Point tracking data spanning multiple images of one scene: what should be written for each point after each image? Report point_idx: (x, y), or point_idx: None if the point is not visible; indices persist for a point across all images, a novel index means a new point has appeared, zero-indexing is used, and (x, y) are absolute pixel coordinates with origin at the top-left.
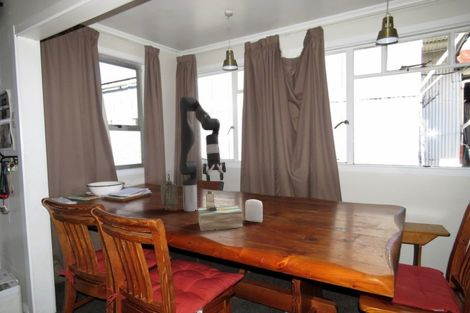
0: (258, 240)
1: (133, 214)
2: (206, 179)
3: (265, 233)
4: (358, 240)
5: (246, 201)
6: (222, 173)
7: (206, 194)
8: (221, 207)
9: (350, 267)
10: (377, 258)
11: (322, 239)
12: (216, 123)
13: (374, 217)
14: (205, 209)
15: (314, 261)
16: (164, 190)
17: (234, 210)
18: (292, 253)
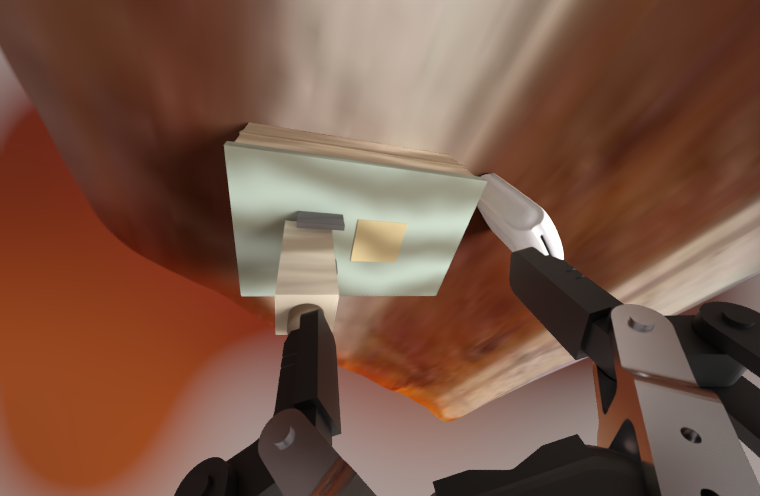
0: (395, 340)
1: None
2: (284, 350)
3: (436, 310)
4: (535, 360)
5: (523, 236)
6: (594, 361)
7: (275, 322)
8: (386, 201)
9: (441, 409)
10: (488, 397)
11: (499, 351)
12: None
13: (708, 278)
14: (280, 211)
15: (419, 399)
16: None
17: (415, 275)
18: (411, 383)
